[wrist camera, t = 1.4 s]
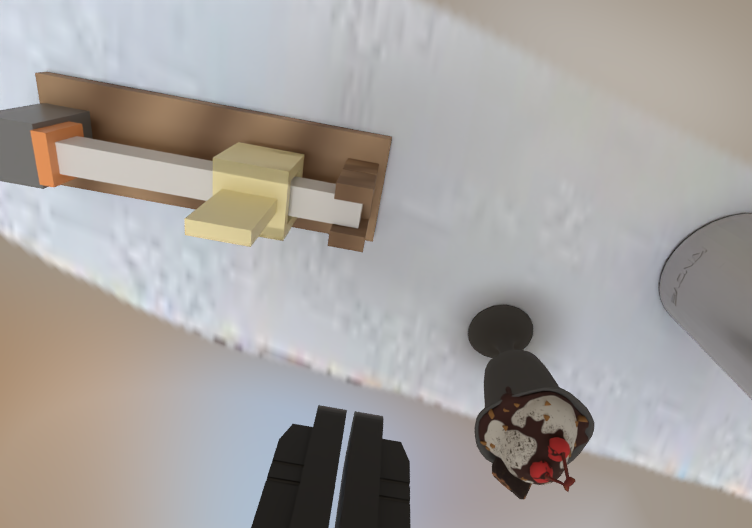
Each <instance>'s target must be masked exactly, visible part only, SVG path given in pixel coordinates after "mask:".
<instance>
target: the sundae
mask: <svg viewBox="0 0 752 528" xmlns="http://www.w3.org/2000/svg"><path fill="white" fill-rule="evenodd" d="M532 335H533V324H532V322H531V319H530V318H529V316H528V315H527V314H526V313H525V312H524V311H522V310H520V309H519V308H516V307H513V306H508V305H500V306H493V307H490V308H488V309H486V310H484V311H482V312H480V313H479V314H478V315H477V316H476V317H475V318H474V319H473V320H472V322H471V324H470V327H469V329H468V337H469V341H470V343H471V345H472V346H473V348H474V349H475V350H476V351H478V352H479V353H481V354H482V355H484V356H487V357H491V358H493V359H491V360H490V361H489V363H488V364H487V367H486V369H485V376H484V398H485V408H484V409H483V410H482V411H481V412H480V413H479V415H478V417H477V419H476V424H475V438H476V444H477V447H478V449H479V450H480V452H481V454H482V455H483V456H484V457H485V458H486V459H487V460H488V461H490V462H492V463H493V464H492V474H493V476H494V477H495V478H496V479H497V480H498V481H499V482H500V483H501V484H502V485H504V486H505V487H506V488H507V489H509V490H510V491H511V492H513V493H514V494H515V495H516V496H517V497H518V498H519V499H525V497H526V495H527V493H528V491H529V489H530V487H531V485H532V484H538V485H545V484H549V483H552V482H557V483H559V484H561V485H563V486H564V488H565V490H566V491H569V486H571V485H572V484H573V483H574V482H575V479H574V478H572V477H569V473H568V468H567V464H569V463H570V462H571V461H573V460H574V459H575V458H576V457H577V456H578V455H579V454H580V453H581V451H582V450H583V448H584V447H585V446H586V444H587V443H588V441H589V440H590V438H591V437H592V435H593V431H594V421H593V418H592V416H591V414H590V412H589V411H588V409H587V408H586V407H585V406H584V405H583V404H582V403H581V402H580V401H579V400H578V399H577V398H576V397H575V396H573V395H572V394H571V393H569V392H568V391H566V390H564V389H562V388H560V387H559V386H558V384H557V383H556V381H555V380H554V378H553V377H552V375H551V374H550V372H549V371H548V369H547V368H546V367H545V366H544V365H543V363H542V362H541V361H540V360H539V359H538V358H537V357H536V356H535V355H534V354H532V353H530V352H528V351H524V350H523V349H524V348H525V347H526V346H527V345H528V344H529V342H530V340H531V338H532ZM563 471H565V475H566V480H565V482H564V483H563V482H561V481H559V480H557V479H558V478H559V477H560V476H561V474H562V473H563Z"/></svg>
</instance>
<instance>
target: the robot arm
mask: <svg viewBox="0 0 752 528" xmlns="http://www.w3.org/2000/svg"><path fill="white" fill-rule="evenodd" d="M659 289H660V298H661V301H662V303H663V306H664V308H665V309H666V311H667V312H668V313H669V314H670V316H671V317H672V318H673V319H674V320H675V321H676V322H677V323H678V324H679V325H680V326H681V327H682V328H683V329H684V330H685V331H686V332H687V333H688V334H689V335H690V336H691V337H692V338H693V339H694V340H695V341H696V342H697V344H698V345H699V346H700V347H701V348H702V349H703V350H704V351H705V352H706V353H707V354H708V355H709V356H710V357H711V358H712V359H713V360H714V361H715V362H716V363H717V364H718V366H719V367H720V368H721V369H722V370H723V371H724V372H725V373H726V374H727V375H728V376H729V377H730V378H731V379H732V380H733V381H734V382H735V383H736V384H737V385H738V386H739V387H740V388H741V389H742V390H743V391H744V392H745V393H746V394H747V395H748V396H749V397H750V398H751V399H752V213H750V214H740V215H734V216H729V217H726V218H723V219H720V220H718V221H715V222H712V223H710V224H708V225H707V226H705V227H703V228H701V229H699V230H698V231H696V232H695V233H694V234H692V235H691V236H690V237H688V238H687V239H686V240H685V241H684V242H683V243H682V244H681V245H680V246H679V247H678V248H677V249H676V250H675V251H674V252H673V254H672V255H671V257H670V258H669V260H668V261H667V263H666V265H665V267H664V270H663V272H662V275H661V280H660V287H659ZM346 412H347V410H343V409H337V408H332V407H326V406H320V405H319V406H318V409H317V413H316V417H315V422H314V426H313V427H309V426H303V425H297V424H292V426H291V427H290V428H289V429H288V430H287V431H286V432H285V433H284V435H283V436H282V437H281V438H280V439H279V441H278V445H277V448H276V451H275V454H274V458H273V461H272V464H271V467H270V470H269V473H268V477H267V481H266V483H265V486H264V489H263V492H262V496H261V499H260V502H259V505H258V508H257V511H256V514H255V517H254V521H253V524H252V527H251V528H328V527H329V520H330V514H331V508H332V501H333V495H334V489H335V482H336V476H337V470H338V463H339V457H340V451H341V444H342V438H343V432H344V425H345V418H346ZM382 435H383V416H379V415H373V414H367V413H361V412H356V411H355V413H354V417H353V422H352V427H351V432H350V437H349V441H348V447H347V451H346V456H345V462H344V468H343V474H342V481H341V488H340V495H339V502H338V508H337V516H336V522H335V528H410V504H409V503H410V487H409V484H410V463H409V460H408V457H407V455H406V452H405V450H404V448H403V446H402V443H401V442H398V441H391V440H386V439H382Z"/></svg>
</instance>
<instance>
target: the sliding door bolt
mask: <svg viewBox="0 0 752 528" xmlns="http://www.w3.org/2000/svg"><path fill="white" fill-rule="evenodd" d="M78 177H79V178H84V179H90V180H95V181H101V182H106V183H112V184H117V185H123V186H128V187H134V188H139V189H145V190H150V191H155V192H161V193H166V194H172V195H177V196H183V197H188V198H194V199H199V200H205V201H207V200H208V199H210V198H211V197H212V196H213V161H209V160H204V159H199V158H193V157H188V156H182V155H177V154H172V153H166V152H161V151H155V150H150V149H145V148H139V147H134V146H128V145H123V144H117V143H112V142H107V141H101V140H96V139H93V137H92V128H91V120H90V111H85V110H80V109H75V108H69V107H64V106H58V105H53V104H48V103H41V104H35V105H29V106H23V107H17V108H12V109H6V110H0V181H3V182H9V183H14V184H20V185H25V186H31V187H36V188H42V189H44V188H46V187H49V186H50V187H56V186H59V185H61V184H63V183H66V182H68V181H71V180H73V179H75V178H78ZM335 188H336V184H334V183H328V182H323V181H318V180H312V179H307V178H301V177H296V176H295V177H294V178H293V179H292V180H291V186H290V197H289V209H288V216H292V217H298V218H303V219H309V220H314V221H320V222H325V223H331V224H336V225H342V226H347V227H353V228H358V227H359V223H360V219H361V214H362V208H363V204H359V203H354V202H348V201H343V200H337V199H334V195H335Z"/></svg>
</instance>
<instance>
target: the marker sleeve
mask: <svg viewBox="0 0 752 528" xmlns="http://www.w3.org/2000/svg"><path fill="white" fill-rule="evenodd" d="M303 164H304V154H300V153H294V152H289V151H283V150H278V149H273V148H267V147H262V146H257V145H251V144H246V143H240V142H238V143H236V144H235V145H233V146H231V147H230V148H228V149H226V150H225V151H223V152H221V153H220V154H218V155H216V156H215V157H213V196H212V197H211V198H210V199H208V200H207V201H206V202H205V203H203V204H202V205H201V206H200V207H198V208H197V209H196V210H195V211H193V212H192V213H191V214H190V215H189V216H187V217H186V218H185V235H188V236H193V237H199V238H204V239H210V240H215V241H221V242H226V243H232V244H238V245H243V246H249V247H251V246H252V244H253V243H254V242H255V240H256V239H257V238H258V236H259V237H264V238H270V239H275V240H281V241H283V240H284V239H285V237H286V235H287V234H288V232H289V231H290V229H291V227H292V226H293V224H294V222H295V221H296V219H297V217H292V216H288V209H289V197H290V186H291V180H292V179H293V178H294V177H295V176H296V177H301V178H302V174H303Z"/></svg>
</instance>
